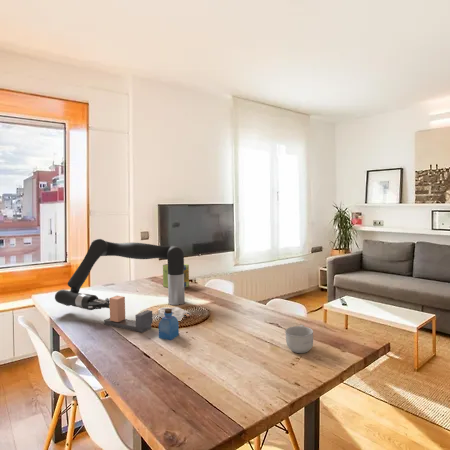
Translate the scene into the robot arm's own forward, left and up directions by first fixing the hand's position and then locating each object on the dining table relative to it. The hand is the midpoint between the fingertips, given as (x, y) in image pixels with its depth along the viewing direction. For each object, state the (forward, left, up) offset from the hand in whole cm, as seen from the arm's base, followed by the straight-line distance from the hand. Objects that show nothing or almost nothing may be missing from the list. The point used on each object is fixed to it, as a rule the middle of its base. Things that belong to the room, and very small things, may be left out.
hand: (111, 306), depth 168 cm
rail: (-8, +6, -9) cm, 13 cm away
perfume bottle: (-27, +23, -9) cm, 37 cm away
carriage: (-3, +3, -6) cm, 7 cm away
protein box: (-35, -67, -9) cm, 76 cm away
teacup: (-78, +47, -9) cm, 91 cm away
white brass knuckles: (-30, -3, -9) cm, 31 cm away
